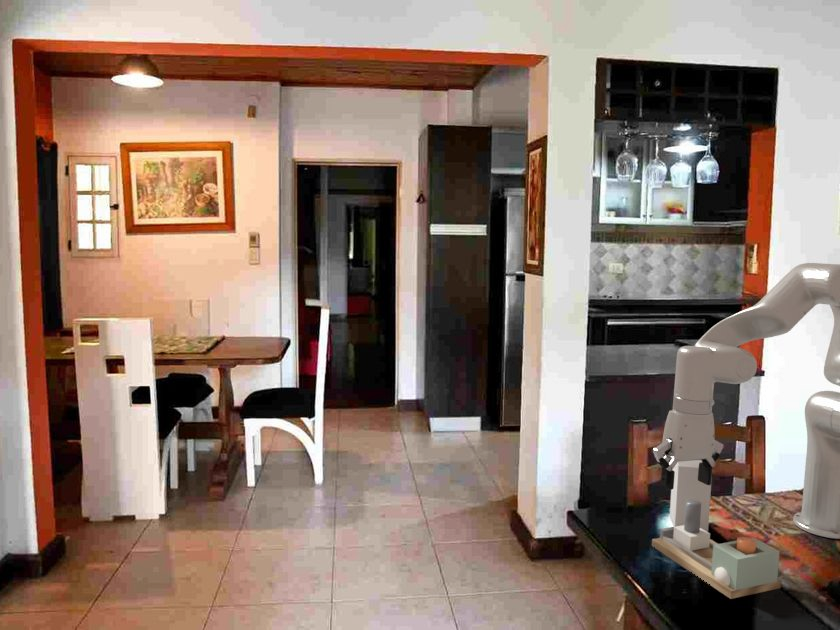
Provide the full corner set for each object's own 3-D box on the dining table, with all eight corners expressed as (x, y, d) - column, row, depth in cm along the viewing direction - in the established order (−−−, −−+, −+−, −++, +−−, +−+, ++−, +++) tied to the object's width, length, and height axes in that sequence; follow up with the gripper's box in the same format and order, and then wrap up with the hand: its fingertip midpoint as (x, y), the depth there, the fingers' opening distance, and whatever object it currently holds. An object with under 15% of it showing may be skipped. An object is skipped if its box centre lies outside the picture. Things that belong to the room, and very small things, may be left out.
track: (696, 537, 146) (697, 522, 146) (780, 588, 126) (781, 570, 125) (651, 545, 142) (652, 530, 142) (730, 598, 122) (731, 581, 121)
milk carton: (708, 533, 149) (713, 451, 147) (674, 530, 150) (679, 448, 148) (701, 520, 156) (706, 441, 154) (669, 517, 157) (674, 439, 155)
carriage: (692, 537, 143) (694, 496, 142) (709, 547, 138) (711, 506, 137) (673, 540, 141) (675, 499, 140) (689, 550, 137) (692, 509, 135)
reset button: (745, 550, 128) (746, 535, 128) (758, 558, 125) (760, 543, 125) (732, 553, 127) (733, 538, 127) (745, 560, 124) (746, 545, 124)
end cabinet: (751, 573, 131) (753, 537, 130) (776, 588, 126) (779, 551, 125) (709, 582, 128) (711, 545, 127) (733, 598, 122) (736, 559, 121)
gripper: (711, 399, 144) (705, 475, 146) (646, 403, 138) (640, 482, 140) (738, 408, 137) (731, 487, 139) (670, 412, 131) (664, 495, 133)
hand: (685, 485), depth 140 cm, fingers open, 9 cm apart
